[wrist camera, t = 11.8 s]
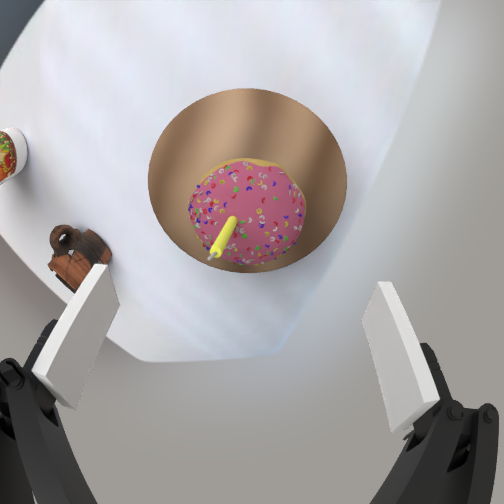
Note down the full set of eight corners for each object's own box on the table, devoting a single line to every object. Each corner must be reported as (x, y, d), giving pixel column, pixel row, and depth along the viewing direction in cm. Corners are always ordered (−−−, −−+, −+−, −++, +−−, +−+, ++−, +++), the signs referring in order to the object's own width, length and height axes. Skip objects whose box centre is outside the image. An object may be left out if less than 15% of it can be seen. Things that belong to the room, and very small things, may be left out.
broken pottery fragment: (125, 267, 42) (94, 309, 37) (93, 253, 45) (66, 288, 41) (86, 210, 33) (45, 256, 28) (58, 203, 36) (24, 240, 32)
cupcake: (184, 204, 26) (142, 292, 16) (232, 125, 22) (211, 166, 12) (263, 248, 28) (266, 347, 18) (317, 179, 24) (359, 258, 14)
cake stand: (335, 96, 27) (360, 102, 20) (314, 235, 37) (326, 276, 30) (171, 87, 27) (143, 91, 20) (177, 228, 37) (158, 267, 30)
